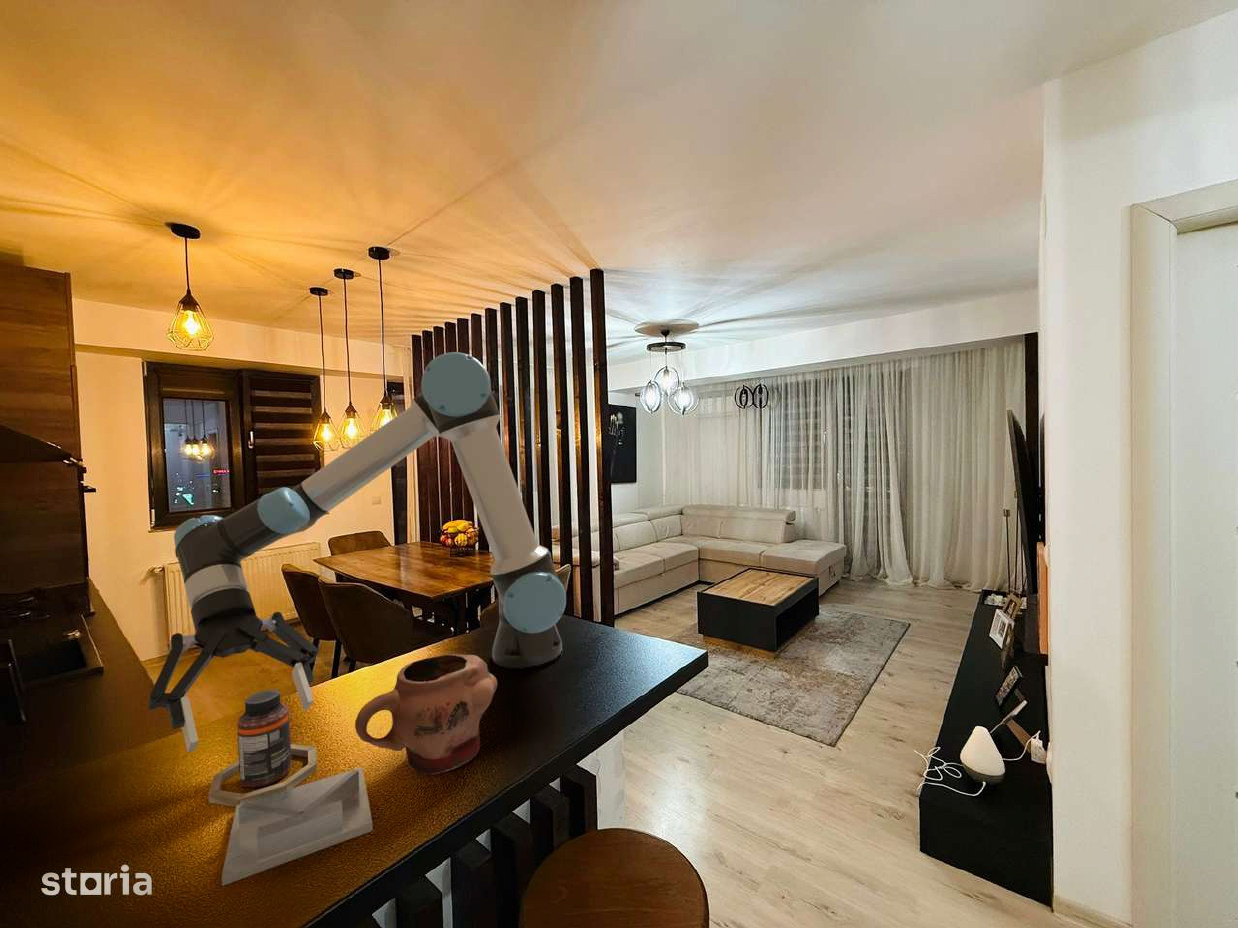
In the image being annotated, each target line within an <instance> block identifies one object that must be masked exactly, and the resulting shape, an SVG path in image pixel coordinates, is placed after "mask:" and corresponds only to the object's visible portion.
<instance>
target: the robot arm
mask: <svg viewBox="0 0 1238 928" xmlns="http://www.w3.org/2000/svg"><path fill="white" fill-rule="evenodd" d="M420 384H421V392H420V393H419V394H418V395H417V396H414V397H413V398H412V399H411V401H410V406H409V407H408V408H407V409H405V410H403V412H401V413H400V414H398V415H397V416H396V417H393V418H392V419H391V420H389V421H388V422H386V423H385V424H384V425H383V426H381V427H379V428H378V429H376V430H375V431H373V432H372V433H371V434H370V435H367V436H366V437H365V438H364V439H362V440H361V441H359V442H358V443H356V444H355V445H353V446H352V447H351V448H349V449H348V450H346V451H344V452H343V453H342V454H341V455H339V456H338V457H336V458H335V459H333V460H331V461H330V462H329V463H327V464H326V465H325V466H323V467H321V468H320V469H319V470H317V471H316V472H315V473H313V474H312V475H310V476H309V477H307V478H305V480H303V481H302V482H300V483H299V484H297V485H296V486H294V487H293V488H289V487H280V488H278V489H276V490H274V491H272V492H270V493H266V494H264V495H262V496H261V497H260V498H258V499H256V500H255V501H253V502H251V503H249V504H247V505H246V506H244V507H242V508H241V509H238V510H237V511H235V512H234V513H232V514H230V515H228V516H226V517H224V518H223V517H221V516H217V515H211V514H210V515H208V514H207V515H201V516H200V517H197V518H195V517H192V518H189V519H187V520H186V521H183V523H181V524H180V525H179V526H177V528H176V530H175V531H174V535H173V540H174V547H175V549H174V552H175V553H174V554H175V557H176V558H177V561H178V563H179V567H180V571H181V575H182V579H183V583H184V588H185V592H186V597H187V603H188V607H189V608H190V614H191V618H192V619H191V620H192V622H193V623H192V624H193V626H194V631H195V633H194V634H188V635H183V634H181V633H179V632H177V633H173V634H172V636H171V638H170V642H169V646H168V648H169V649H168V650H169V653H168V656H167V658H166V660H165V662H164V665H163V666H162V669H161V671H160V673H159V675H158V676H157V679H156V682H155V683H154V685H153V687H152V690H151V692H150V694H149V697H148V701H147V709H148V710H155V709H157V708H165V711H166V712H167V713H168V716H169V717H168V719H169V722H170V723H169V724H170V727H171V728H172V730H179V729H180V728H182V731H183V738H184V742H185V745H186V746H185V747H186V752H187V754H189V753H192V752H194V751H196V749H197V746H198V743H199V738H198V733H197V729H196V725H195V724H196V723H195V719H194V714H193V710H192V707H191V706H192V705H191V701H190V697H189V695H186V694H187V693H188V692H189V690H190V689H191V687H192V686H193V685H194V684H195V682H196V680H197V679H198V678H199V676H200V675H201V674H202V672H203V671H204V670H205V669H206V667H207V666H209V664H210V663H211V661H212V660H213V659H214V658H215V657H217V658H220V659H223V658H228V657H229V656H231V655H234V654H235V655H236V654H242V653H246V652H247V651H248V650H251V651H254V652H255V653H262V654H264V655H267V656H268V657H271V658H273V659H274V660H277V661H279V662H281V663H282V664H283V663H284V664H285V665H287V666H289V667H291V668H293V669H292V671H291V676H292V679H293V682H294V685H295V688H296V692H297V694H298V697H299V700H300V703H301V706H302V710H303V711H304V712H305V711H308V710H310V709H311V708H312V707H311V706H312V705H313V703H314V701H315V698H314V696H313V693H312V690H311V687H310V686H311V685H312V683H313V681H314V675H313V672H312V669H311V666H310V663H314V662H315V661H316V658H317V656H318V654H319V652H320V650H319V648H318V647H317V646H316V645H314V643H312V642H311V641H309V639H307V638H306V637H304V635H302V634H301V633H300V632H298V631H297V629H295V628H294V627H292V625H290V623H288V622H287V621H286V620H285V618H284V616H283V615H282V612H280V611H275V612H273V613H272V615H271V616H269V617H266V618H262V619H261V618H260V617H258V615H257V613H256V612H257V611H256V608H255V606H254V603H253V600H252V596H251V594H250V590H249V585H248V583H247V581H246V577H245V575H244V572H243V569H242V563H241V562H242V561H244V559H247V558H249V557H250V556H253V555H254V554H255V553H258V552H260V550H263V549H264V548H266V547H268V546H270V545H272V544H274V543H275V542H277V541H279V540H282V539H285V538H287V537H288V536H291V535H294V534H298V533H301V532H305V531H307V530H308V529H310V528H311V527H312V526H313V525H315V524H316V523H317V521H318V520H319V519H321V518H322V517H324V516H325V515H326V514H327V513H329V512H330V511H332V510H333V509H334V508H336V507H337V506H338V505H340V504H341V503H343V502H344V501H346V500H347V499H348V498H350V497H351V496H353V495H354V494H356V493H357V492H359V491H360V490H361V489H363V488H364V487H366V486H367V485H369V483H371V482H372V481H374V480H375V479H376V478H378V477H379V476H380V475H382V474H384V473H385V472H386V471H388V470H390V469H391V468H392V467H394V466H395V465H396V464H397V463H399V462H401V461H402V460H403V459H405V458H406V457H407V456H409V455H410V454H412V453H413V452H414V451H415V450H417V449H419V448H420V447H422V446H423V445H424V444H426V443H427V442H428V441H430V440H431V439H432V438H435V437H438V438H443V439H445V440H448V441H449V442H450V443H451V444H452V447H453V450H454V452H455V455H456V458H457V461H458V464H459V466H460V469H461V472H462V475H463V478H464V480H465V482H466V485H467V488H468V490H469V494H470V496H471V498H472V502H473V505H474V508H475V510H476V512H477V516H478V519H479V520H480V521H479V522H480V524H481V526H482V530H483V532H484V534H485V538H486V540H487V543H488V545H489V548H490V551H491V554H492V556H493V559H494V562H493V564H492V566H491V569H490V571H489V573H490V575H491V578H492V581H493V583H494V586H495V589H496V591H497V594H498V612H499V615H498V617H499V625H498V627H497V631H496V634H495V638H494V642H493V645H492V649H491V651H492V652H491V655H492V656H491V657H492V662H493V663H494V664H496V665H497V666H499V667H503V668H507V669H525V668H524V667H531V666H536V665H540V664H543V663H546V662H548V661H550V660H552V659H554V658H556V657H557V656H558V655H559V654H560V653H561V651H562V652H563V641H562V639H561V636H560V633H559V631H558V628H557V625H556V624H557V623H558V622H559V620H560V619H561V618H562V616H563V614H564V613H565V608H566V605H567V593H566V592H567V591H566V589H565V588H566V587H565V586H564V584H563V583H562V582H561V580H560V579H559V577H558V574H557V571H556V569H555V566H554V562H553V559H552V554H551V552H550V551H549V549H548V548H547V547H545V546H542V545H540V544H538V541H537V538H536V536H535V532H534V531H533V527H532V524H531V522H530V519H529V517H528V513H527V510H526V508H525V505H524V502H523V499H522V497H521V494H520V491H519V489H518V484H517V482H516V480H515V477H514V474H513V471H512V468H511V466H510V463H509V460H508V458H507V454H506V452H505V449H504V446H503V444H502V441H501V437H500V435H499V433H498V429H497V425H498V423H499V421H500V419H501V413H500V411H499V407H498V404H497V402H496V400H495V397H494V394H493V391H492V384H491V378H490V375H489V371H488V370H487V369H486V367H485V366H484V365H483V364H482V363H481V362H480V361H479V360H478V359H477V358H475V357H473V356H471V355H469V354H468V353H467V354H466V353H463V352H458V351H455V352H454V351H451V352H446V353H443V354H440V355H438V356H436V357H435V358H433V359H432V360H430V362H429V363H428V364H427V365H426V367H425V369H424V371H423V374H422V377H421V381H420ZM265 628H266V629H267V630H268V632H270V633H271V632H273V634H274V635H275V637H277V638H279V640H281V642H280V641H279V640H276V639H273V638H272V637H270V636H269V635H268V634H267V633H266V632H263V631H261V630H262V629H265ZM282 642H283V643H282ZM191 645H194V646H196V647H198V648H199V649H201V651H200V654H198V656H197V657H196V659H194V661H193V663H191V665H190V666H189V668H188V669H187V670H186V672H184V674H183V675H182V677H181V678H180V679H179V681H178V682H177V684H175V686H174V688H172V690H171V691H170V692H166V690H167V689H168V686H169V684H170V681H171V680H172V678H173V675H174V673H175V670H176V669H177V666H178V663H179V662H180V659H181V655H182V654H183V653H185V652H187V651H188V650H189V648H190V646H191ZM531 668H532V667H531ZM185 695H186V696H185Z"/></svg>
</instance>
